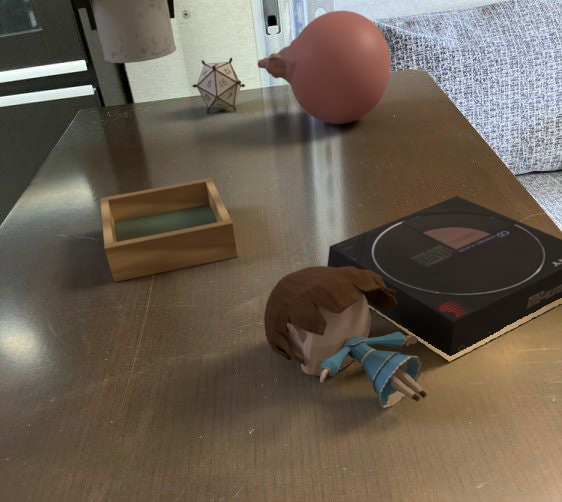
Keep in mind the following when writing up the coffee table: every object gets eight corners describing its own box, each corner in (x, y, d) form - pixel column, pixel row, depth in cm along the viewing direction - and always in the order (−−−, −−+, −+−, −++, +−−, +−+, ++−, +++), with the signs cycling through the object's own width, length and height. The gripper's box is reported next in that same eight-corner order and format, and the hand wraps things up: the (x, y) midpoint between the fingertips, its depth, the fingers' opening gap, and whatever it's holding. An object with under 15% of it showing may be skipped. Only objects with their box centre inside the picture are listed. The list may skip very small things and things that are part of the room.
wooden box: (109, 229, 76) (100, 198, 73) (216, 208, 78) (211, 177, 75) (114, 282, 66) (104, 248, 63) (237, 256, 68) (232, 223, 65)
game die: (214, 131, 112) (180, 82, 110) (252, 104, 113) (219, 54, 111) (219, 118, 104) (182, 64, 102) (259, 89, 104) (224, 35, 102)
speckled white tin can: (152, 41, 87) (131, -65, 80) (190, 49, 81) (171, -65, 74) (91, 57, 83) (63, -54, 75) (126, 66, 77) (99, -53, 69)
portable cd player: (449, 228, 68) (452, 194, 66) (584, 292, 57) (594, 253, 54) (327, 279, 62) (325, 243, 60) (449, 362, 51) (453, 322, 48)
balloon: (269, 111, 107) (259, 8, 97) (387, 103, 104) (389, -3, 94) (258, 143, 95) (246, 30, 85) (391, 135, 92) (394, 17, 83)
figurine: (444, 414, 51) (319, 316, 58) (494, 320, 45) (349, 224, 53) (353, 466, 44) (224, 347, 51) (399, 362, 38) (246, 244, 45)
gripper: (-7, -98, 58) (51, 54, 80) (225, -125, 61) (220, 28, 83) (-23, -169, 59) (39, 1, 81) (207, -192, 62) (206, -23, 84)
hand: (131, 14), depth 82 cm, fingers closed on speckled white tin can, 9 cm apart
